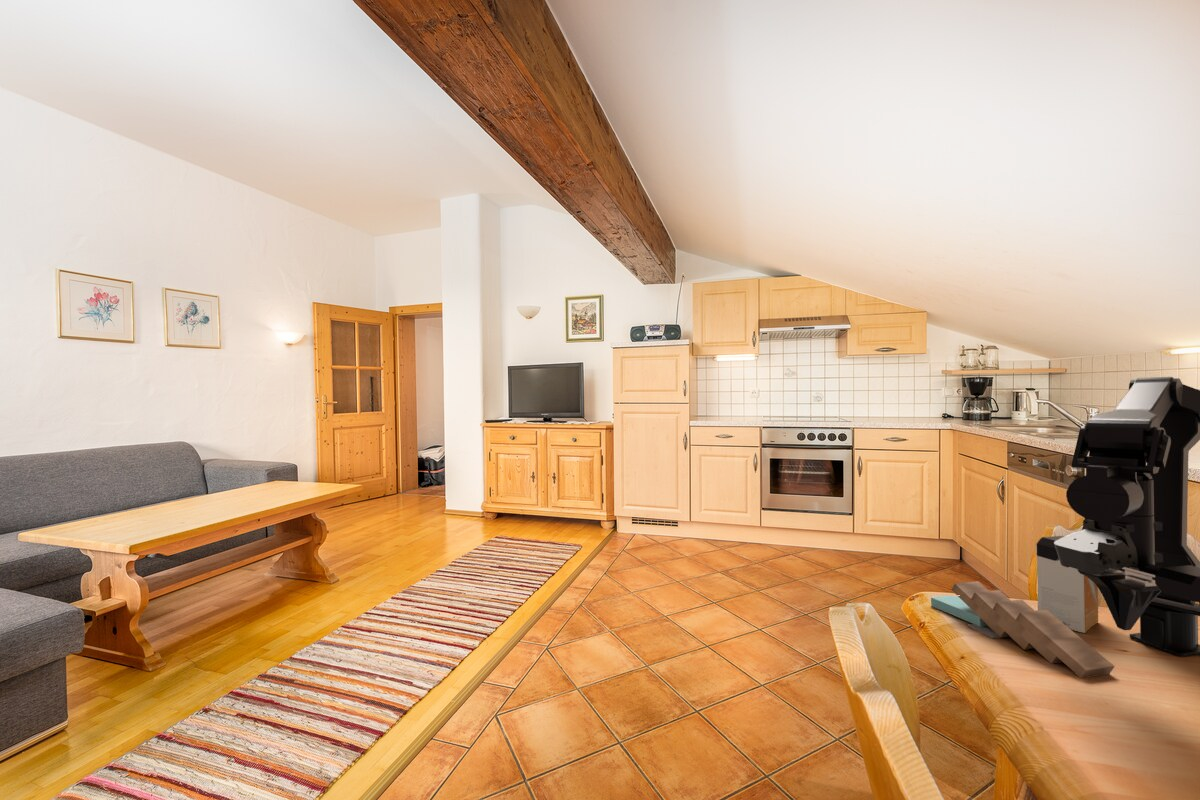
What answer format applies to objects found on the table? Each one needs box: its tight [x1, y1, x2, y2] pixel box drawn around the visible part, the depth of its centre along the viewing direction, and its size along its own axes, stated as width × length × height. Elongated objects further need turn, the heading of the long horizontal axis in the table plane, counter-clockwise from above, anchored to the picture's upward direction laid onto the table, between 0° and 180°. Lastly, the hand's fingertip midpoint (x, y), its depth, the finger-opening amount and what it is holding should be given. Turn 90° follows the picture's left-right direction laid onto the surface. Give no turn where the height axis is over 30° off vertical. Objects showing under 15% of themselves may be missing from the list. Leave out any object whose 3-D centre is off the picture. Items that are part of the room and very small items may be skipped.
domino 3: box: [971, 589, 1036, 651], centre depth 82 cm, size 5×2×10 cm
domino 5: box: [1016, 609, 1116, 679], centre depth 75 cm, size 5×2×10 cm
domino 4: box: [993, 599, 1063, 664], centre depth 78 cm, size 5×2×10 cm
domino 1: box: [930, 595, 988, 627], centre depth 91 cm, size 5×2×10 cm
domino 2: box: [951, 580, 1009, 638], centre depth 86 cm, size 5×2×10 cm
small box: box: [1036, 555, 1099, 634], centre depth 88 cm, size 8×6×13 cm
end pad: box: [968, 623, 1011, 639], centre depth 85 cm, size 7×4×1 cm, turn 100°
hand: (1124, 629), depth 67 cm, fingers closed
